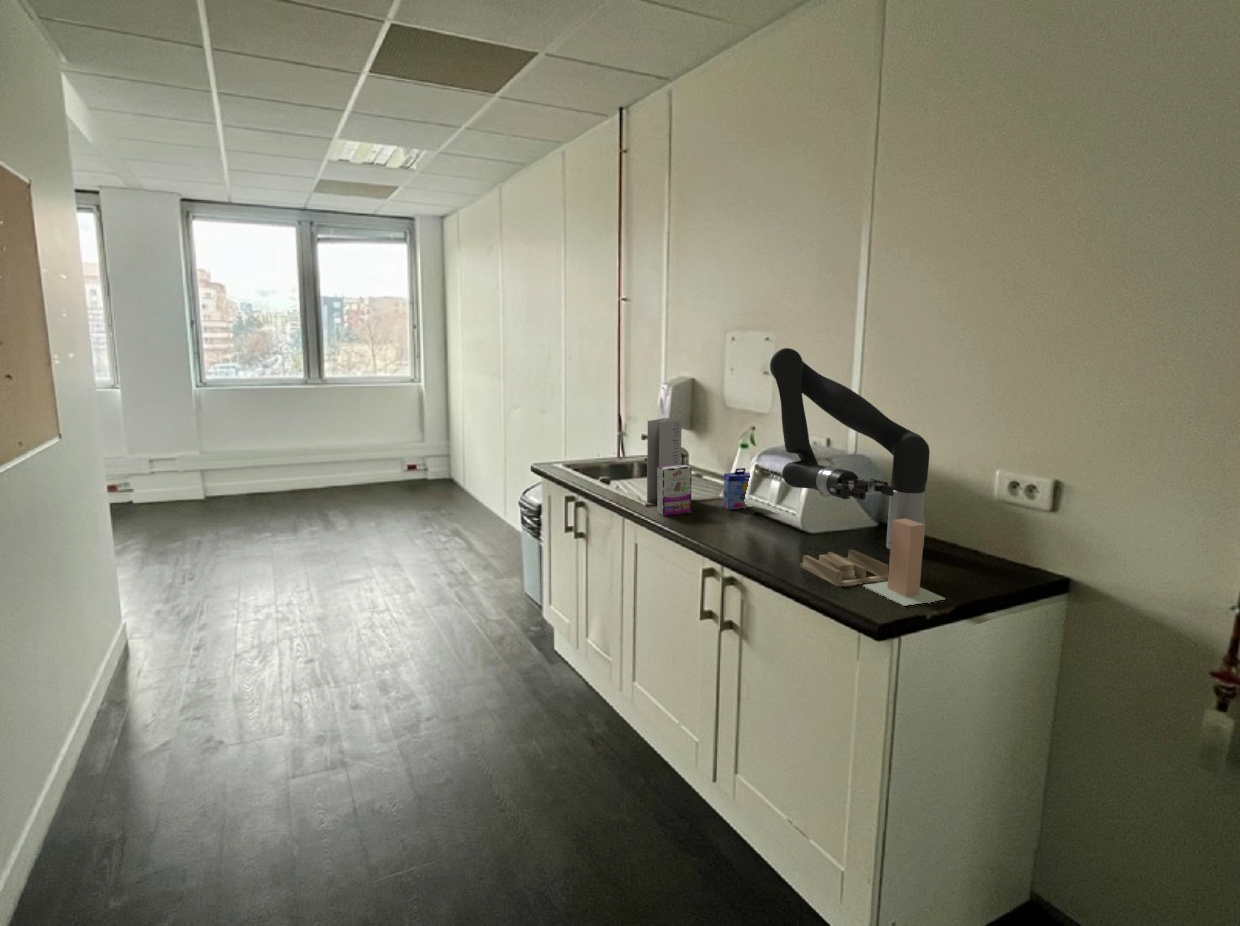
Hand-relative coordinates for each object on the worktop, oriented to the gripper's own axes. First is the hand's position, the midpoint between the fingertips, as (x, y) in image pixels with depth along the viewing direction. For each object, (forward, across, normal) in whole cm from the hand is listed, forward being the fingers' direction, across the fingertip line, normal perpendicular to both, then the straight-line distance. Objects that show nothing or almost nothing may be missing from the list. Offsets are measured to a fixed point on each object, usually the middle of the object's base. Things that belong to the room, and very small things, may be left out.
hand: (878, 493), depth 174 cm
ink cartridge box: (-79, +5, +21) cm, 81 cm away
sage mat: (+10, -1, +22) cm, 25 cm away
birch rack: (-7, -5, +22) cm, 23 cm away
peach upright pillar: (+10, -1, +22) cm, 24 cm away
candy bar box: (-79, -20, +20) cm, 83 cm away
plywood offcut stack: (-6, -8, +22) cm, 24 cm away
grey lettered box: (-99, -15, +20) cm, 102 cm away
